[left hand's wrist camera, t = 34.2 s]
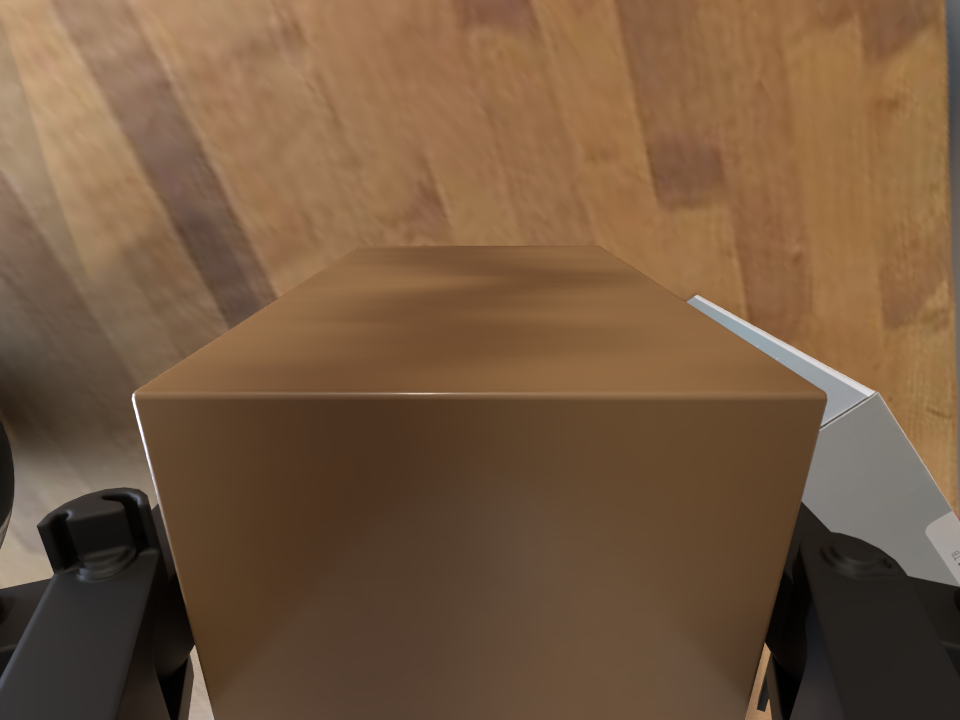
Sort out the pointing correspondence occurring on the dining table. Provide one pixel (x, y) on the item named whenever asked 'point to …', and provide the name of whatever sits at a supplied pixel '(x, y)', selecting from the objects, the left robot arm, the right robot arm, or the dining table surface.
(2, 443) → the sphere
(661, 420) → the block
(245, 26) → the dining table surface
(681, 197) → the dining table surface
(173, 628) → the left robot arm
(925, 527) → the hard drive box
